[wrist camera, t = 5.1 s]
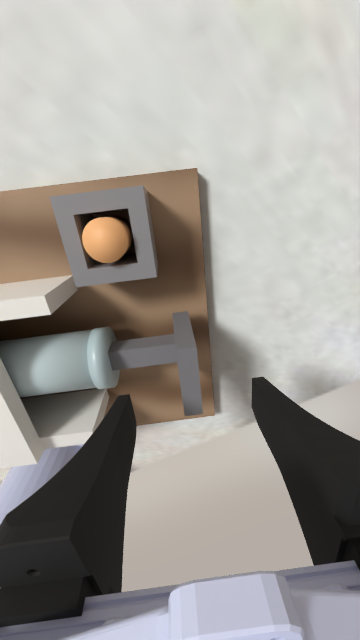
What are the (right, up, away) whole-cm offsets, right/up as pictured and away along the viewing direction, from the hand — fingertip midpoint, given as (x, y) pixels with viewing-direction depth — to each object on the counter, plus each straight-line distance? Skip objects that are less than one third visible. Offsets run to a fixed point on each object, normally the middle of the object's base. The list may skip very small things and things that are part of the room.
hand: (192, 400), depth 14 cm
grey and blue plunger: (-8, +2, +7) cm, 11 cm away
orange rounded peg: (-5, +10, +4) cm, 12 cm away
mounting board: (-9, +4, +8) cm, 13 cm away
